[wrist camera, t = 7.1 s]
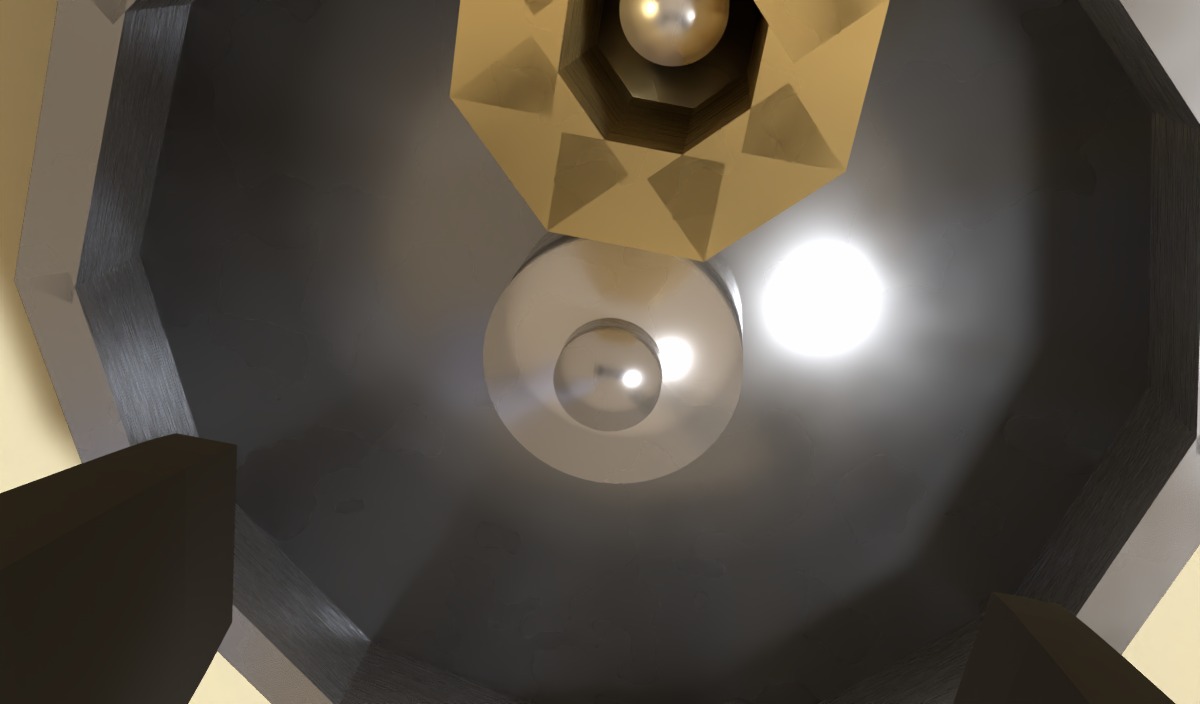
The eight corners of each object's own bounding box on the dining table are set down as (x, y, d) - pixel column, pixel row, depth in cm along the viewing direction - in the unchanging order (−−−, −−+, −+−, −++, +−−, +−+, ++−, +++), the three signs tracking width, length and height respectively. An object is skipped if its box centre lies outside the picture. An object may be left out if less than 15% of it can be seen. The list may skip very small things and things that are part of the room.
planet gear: (637, 241, 18) (611, 321, 14) (456, -16, 17) (376, -4, 13) (904, 66, 16) (953, 102, 13) (725, -229, 15) (722, -286, 11)
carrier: (568, 853, 24) (539, 1012, 21) (-66, 209, 20) (-240, 267, 17) (1403, 399, 18) (1570, 512, 15) (736, -641, 14) (737, -841, 11)
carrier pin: (677, 61, 17) (664, 88, 14) (623, -10, 17) (597, 1, 14) (748, 3, 17) (751, 18, 13) (693, -70, 16) (683, -73, 13)
